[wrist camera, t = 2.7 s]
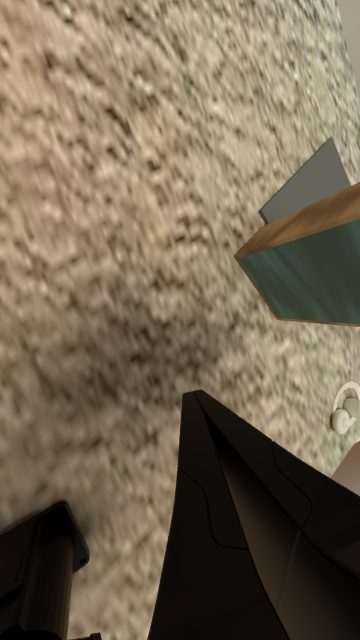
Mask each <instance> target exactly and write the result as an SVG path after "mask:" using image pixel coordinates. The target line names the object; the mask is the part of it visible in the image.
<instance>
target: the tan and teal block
mask: <svg viewBox="0 0 360 640" xmlns="http://www.w3.org/2000/svg"><path fill="white" fill-rule="evenodd" d="M234 257H235V259H236V260H237V262H238V263H239V265H240V266H241V267H242V269H243V270H244V272H245V273H246V275H247V276H248V278H249V279H250V281H251V282H252V283H253V285H254V286H255V288H256V289H257V291H258V292H259V294H260V295H261V297H262V298H263V299H264V301H265V302H266V304H267V305H268V307H269V308H270V310H271V311H272V313H273V314H274V315H275V317H276V318H277V320H286V321H297V322H308V323H320V324H331V325H343V326H354V327H360V182H359V183H357V184H355V185H352V186H350V187H348V188H346V189H344V190H342V191H339V192H337V193H335V194H333V195H331V196H329V197H326V198H324V199H322V200H320V201H318V202H316V203H313V204H311V205H309V206H307V207H305V208H303V209H300V210H298V211H296V212H294V213H292V214H290V215H287V216H285V217H283V218H281V219H279V220H277V221H274V222H272V223H270V224H268V225H266V226H264V227H261V228H260V229H259V230H258V231H257V232H256V233H255V234H254V235H253V236H252V237H251V238H250V239H249V240H248V241H247V242H246V244H245V245H244V246H243V247H242V248H241V249H240V250H239V251H238V252H237V253H236V254H235V255H234Z"/></svg>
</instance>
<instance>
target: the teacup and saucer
mask: <svg viewBox="0 0 360 640" xmlns="http://www.w3.org/2000/svg"><path fill="white" fill-rule="evenodd" d="M349 387H352V388H354V389H355V390H356V392H357V396H358V399H354V398H347V399H346V400H345V402H344V405H343V408H344V410H343V409H338V410H336V407H337V402H338V399H339V397H340V395H341V394H342V392H343V391H344V390H345V389H347V388H349ZM332 414H333V422H332V423H333V428H334V430H335V431H336V432H337V433H339V434H344V433H346V431H347V430H348V427H350V426H351V425H352V424H353V423H354V422H355V420H356V418H357V419H359V420H360V387H359V385H358V384H357V383H356V382H353V381H350V382H347V383H345V384H344V385H343V386H342V387H341V388H340V390H339V391H338V393H337V395H336V397H335V400H334V404H333V411H332ZM348 414H350V415H352V416H353V417H352V418H351V419H350V420H349V415H348ZM358 441H360V436H359V437H358V439H357V440H356V442H358ZM356 442H355V443H356ZM355 443H354V444H355Z"/></svg>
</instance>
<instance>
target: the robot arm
mask: <svg viewBox="0 0 360 640" xmlns="http://www.w3.org/2000/svg"><path fill="white" fill-rule="evenodd" d="M177 469H178V470H177V479H176V490H175V500H174V507H173V513H172V519H171V525H170V531H169V536H168V541H167V547H166V552H165V557H164V562H163V568H162V573H161V578H160V584H159V589H158V594H157V599H156V604H155V609H154V613H153V618H152V622H151V627H150V631H149V635H148V639H147V640H360V496H359V495H357V494H355V493H354V492H352V491H350V490H349V489H347V488H346V487H344V486H342V485H341V484H339V483H337V482H336V481H334V480H332V479H331V478H329V477H327V476H326V475H324V474H323V473H321V472H319V471H318V470H316V469H314V468H313V467H311V466H310V465H308V464H307V463H305V462H303V461H302V460H300V459H299V458H297V457H296V456H294V455H293V454H291V453H290V452H289V451H287V450H286V449H284V448H283V447H281V446H280V445H279V444H277V443H276V442H274V441H272V440H271V439H270V438H269V437H267V436H266V435H264V434H263V433H262V432H260V431H259V430H258V429H256V428H255V427H253V426H252V425H251V424H249V423H248V422H246V421H245V420H244V419H242V418H241V417H239V416H238V415H237V414H235V413H234V412H232V411H231V410H230V409H228V408H227V407H226V406H224V405H223V404H221V403H220V402H219V401H217V400H216V399H214V398H213V397H212V396H210V395H209V394H207V393H206V392H205V391H203V390H201V389H200V390H195V391H193V392H186V393H183V396H182V410H181V424H180V438H179V453H178V467H177ZM59 509H62V510H60V511H59ZM89 555H90V553H89V550H88V548H87V546H86V543H85V541H84V539H83V537H82V535H81V533H80V530H79V528H78V526H77V524H76V522H75V520H74V517H73V515H72V513H71V511H70V509H69V507H68V504H67V503H66V502H59V503H57V504H56V505H54V506H52V507H50V508H49V509H47V510H45V511H43V512H42V513H40V514H38V515H36V516H35V517H33V518H31V519H29V520H28V521H26V522H24V523H22V524H21V525H19V526H17V527H15V528H14V529H12V530H10V531H8V532H7V533H5V534H3V535H1V536H0V640H67V633H68V622H69V610H70V599H71V587H72V575H73V573H75V572H76V571H78V570H79V569H80V568H82V567H83V566H85V565H86V564H87V563H88V561H89ZM71 640H102V639H101V634H100V632H99V633H93V634H91V635H90V636H89V637H83V638H77V639H71Z"/></svg>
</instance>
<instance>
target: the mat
mask: <svg viewBox="0 0 360 640" xmlns="http://www.w3.org/2000/svg"><path fill="white" fill-rule="evenodd" d="M350 186H351V185H350V182H349V180H348V177H347V175H346V172H345V170H344V167H343V164H342V162H341V159H340V157H339V154H338V152H337V149H336V146H335V144H334V141H333V139H332V137H331V138H329V139H328V140H327V141H326V142H325V143H324V144H323V145H322V146H321V147H320V148H319V150H318V151H317V152H316V153H315V154H314V155H313V156H312V157H311V158H310V159H309V160H308V161H307V162H306V163H305V164H304V165H303V166H302V167H301V168H300V169H299V170H298V171H297V172H296V173H295V174H294V175H293V176H292V177H291V178H290V179H289V180H288V182H287V183H286V184H285V185H284V186H283V187H282V188H281V189H280V190H279V191H278V192H277V193H276V194H275V195H274V196H273V197H272V198H271V199H270V200H269V201H268V202H267V203H266V204H265V205H264V206H263V207H262V208H261V209H260V210H259V213H260V215H261V216H262V218H263V220H264V222H265V223H266V225H268V224H270V223H272V222H274V221H277V220H279V219H281V218H283V217H285V216H287V215H290V214H292V213H294V212H296V211H298V210H300V209H303V208H305V207H307V206H309V205H311V204H313V203H316V202H318V201H320V200H322V199H324V198H326V197H329V196H331V195H333V194H335V193H337V192H339V191H342V190H344V189H346V188H348V187H350Z"/></svg>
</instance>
